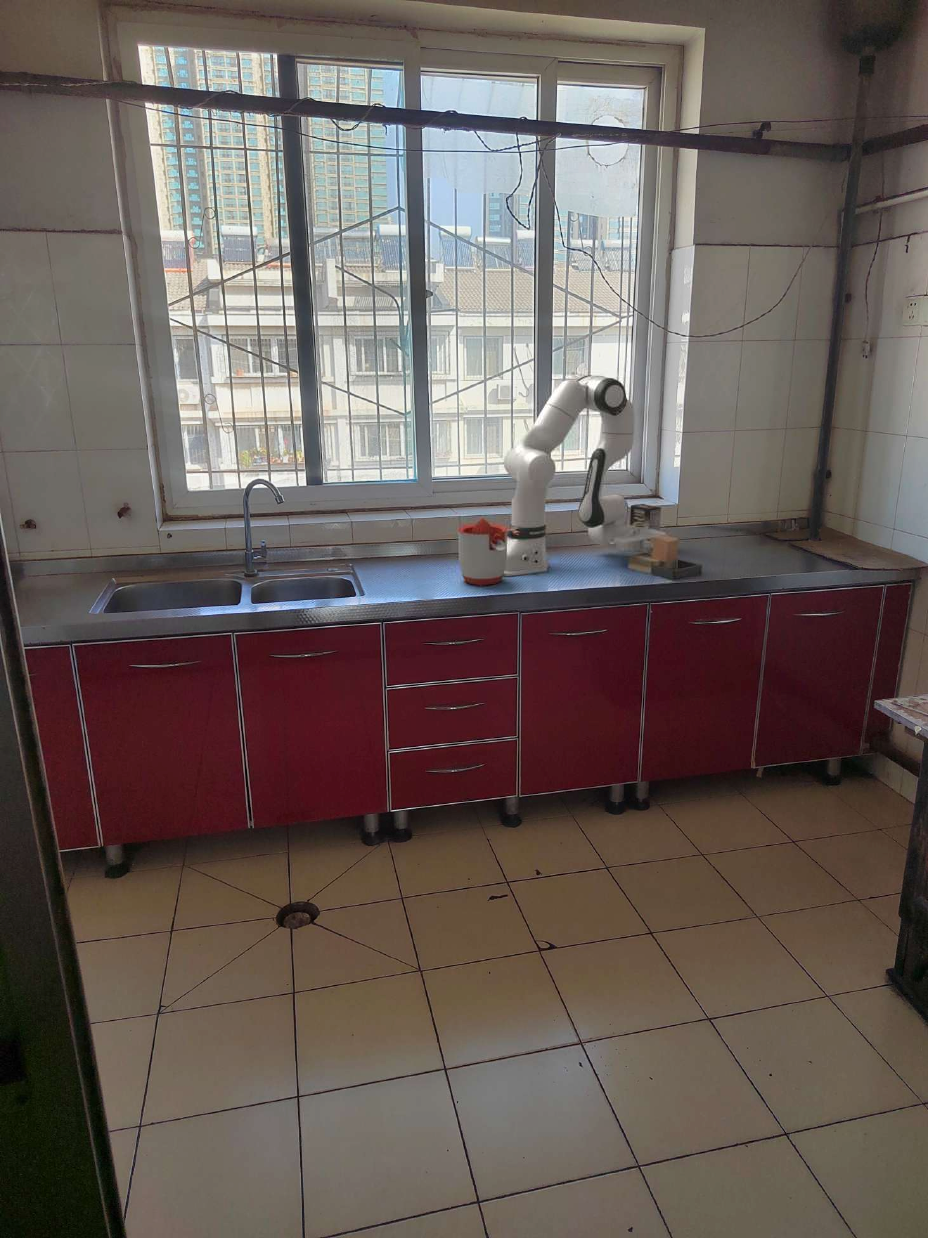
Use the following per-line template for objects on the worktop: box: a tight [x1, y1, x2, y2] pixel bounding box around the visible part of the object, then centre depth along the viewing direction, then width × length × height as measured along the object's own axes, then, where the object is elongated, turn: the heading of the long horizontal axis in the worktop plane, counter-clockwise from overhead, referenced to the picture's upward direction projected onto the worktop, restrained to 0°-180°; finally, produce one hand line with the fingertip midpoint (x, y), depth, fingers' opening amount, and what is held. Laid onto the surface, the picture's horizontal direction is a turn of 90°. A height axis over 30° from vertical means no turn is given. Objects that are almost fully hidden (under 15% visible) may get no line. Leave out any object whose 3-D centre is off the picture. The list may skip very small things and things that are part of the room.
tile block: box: [652, 534, 680, 563], centre depth 261 cm, size 5×6×7 cm
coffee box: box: [629, 503, 662, 553], centre depth 290 cm, size 9×6×16 cm
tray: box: [650, 558, 703, 581], centre depth 259 cm, size 13×9×3 cm
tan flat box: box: [627, 552, 678, 575], centre depth 267 cm, size 12×10×4 cm
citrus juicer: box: [457, 518, 509, 586], centre depth 251 cm, size 16×17×20 cm
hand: (658, 545), depth 264 cm, fingers closed
